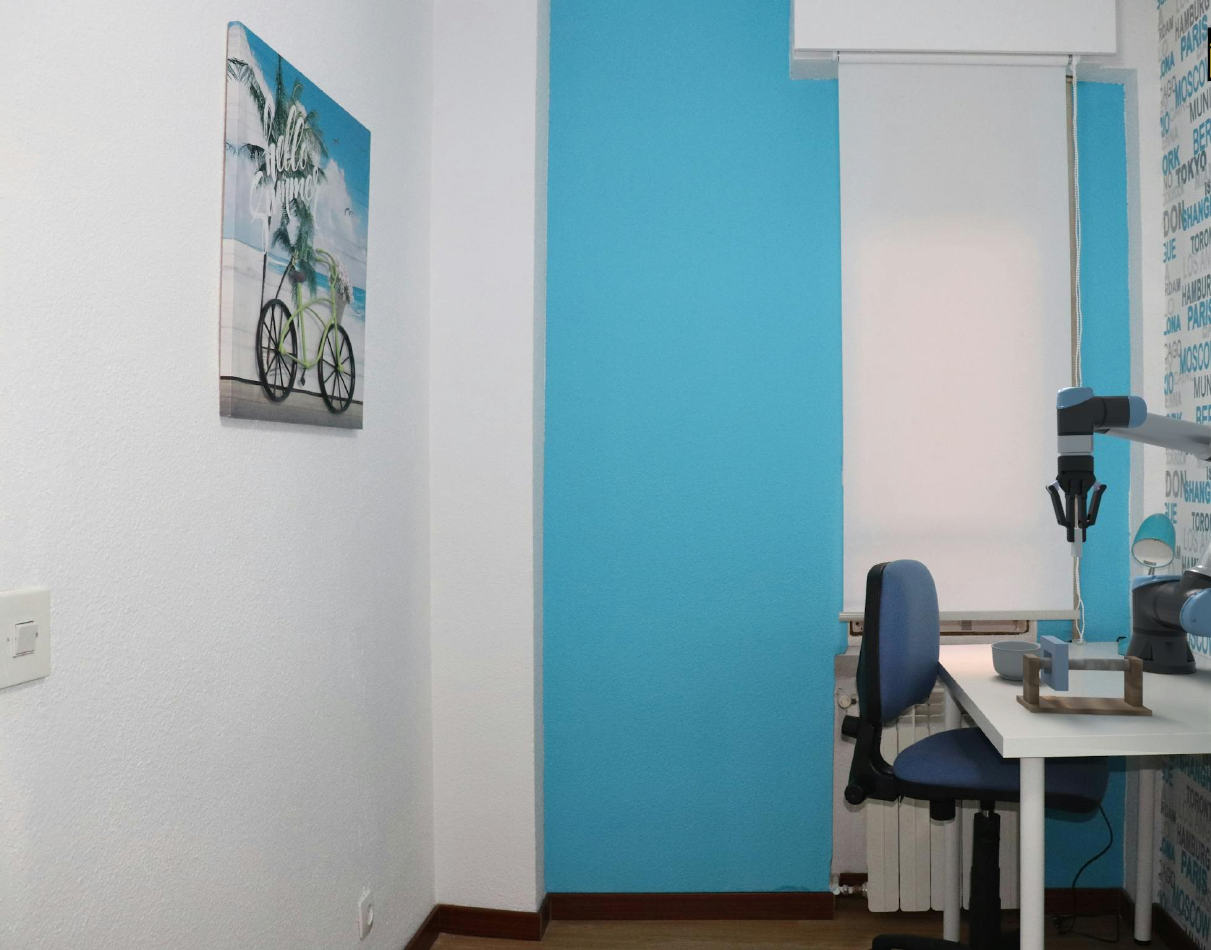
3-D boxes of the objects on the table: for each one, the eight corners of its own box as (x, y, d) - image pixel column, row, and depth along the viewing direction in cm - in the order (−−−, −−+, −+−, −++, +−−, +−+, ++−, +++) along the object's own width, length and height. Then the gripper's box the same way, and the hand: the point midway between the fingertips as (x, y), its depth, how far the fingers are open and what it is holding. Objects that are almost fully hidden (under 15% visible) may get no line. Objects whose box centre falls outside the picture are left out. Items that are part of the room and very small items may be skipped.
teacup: (1046, 684, 214) (1046, 649, 213) (996, 682, 216) (996, 647, 216) (1031, 670, 227) (1031, 638, 227) (984, 669, 229) (984, 636, 229)
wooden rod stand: (1130, 703, 196) (1130, 653, 196) (1152, 715, 186) (1152, 663, 186) (1016, 700, 199) (1016, 651, 199) (1031, 712, 189) (1031, 660, 189)
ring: (1052, 680, 198) (1052, 635, 197) (1068, 691, 188) (1068, 644, 188) (1040, 680, 198) (1040, 635, 198) (1055, 691, 189) (1055, 643, 189)
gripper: (1098, 454, 217) (1099, 554, 217) (1040, 455, 219) (1041, 555, 219) (1112, 453, 210) (1113, 558, 210) (1051, 454, 211) (1053, 558, 211)
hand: (1076, 556), depth 214 cm, fingers closed
